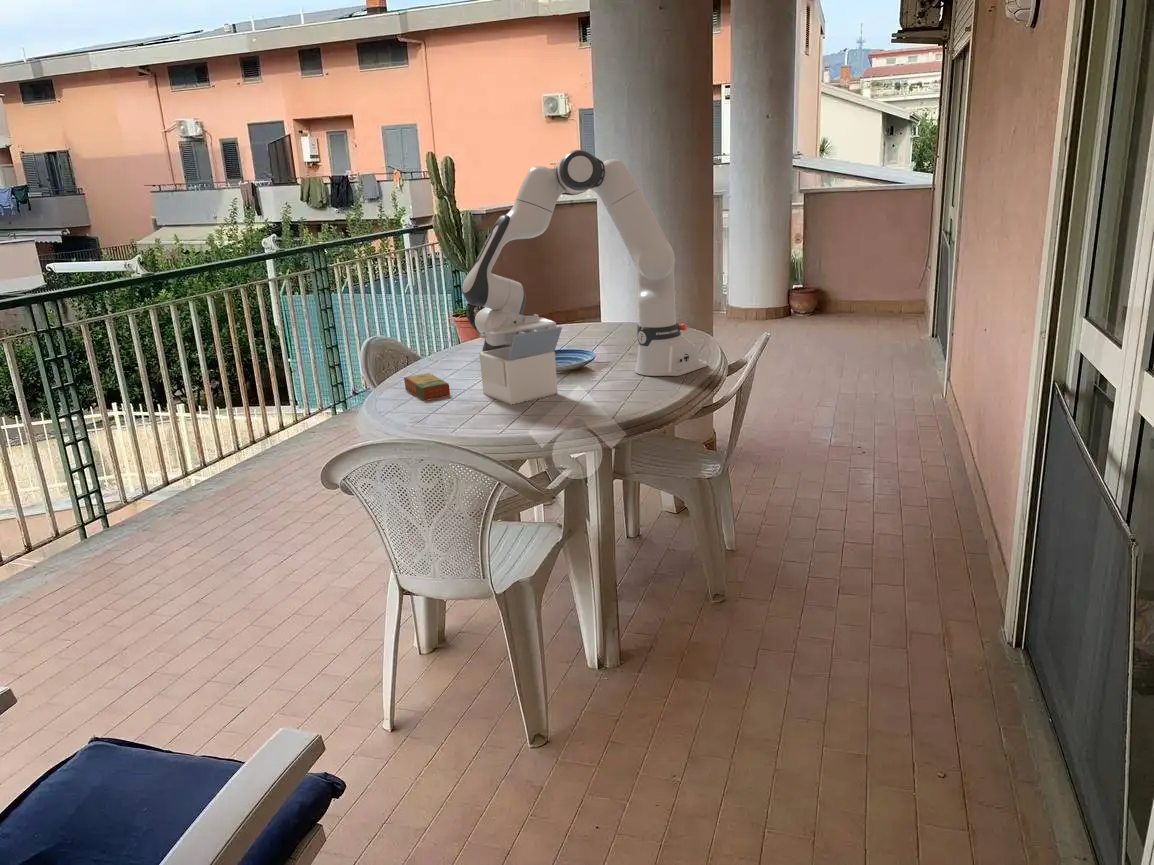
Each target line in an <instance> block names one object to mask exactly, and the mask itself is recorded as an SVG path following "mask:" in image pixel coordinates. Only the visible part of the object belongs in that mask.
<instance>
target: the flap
mask: <svg viewBox="0 0 1154 865" xmlns="http://www.w3.org/2000/svg"><path fill="white" fill-rule="evenodd" d="M562 330H563V327H562V326H557V328H551V329H546V330H540V331H535V332H529V333H524V334H518V335H514V339H513V342H512V346H511V350H510V353H509V357H508V358H509V359H512V358H517V357H522V356H527V355H532V354H537V353H542V352H547V351H556V348H557V345H558V341H559V339H560V336H561V333H562Z"/></svg>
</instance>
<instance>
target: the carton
mask: <svg viewBox="0 0 1154 865" xmlns="http://www.w3.org/2000/svg"><path fill="white" fill-rule="evenodd" d="M403 380H404V387H405V388H404V389H405V390H406V391H407V392H408V393H410V392H411V393H410V394H412V395H413V396H415V397H416V398H418V399H420V400H421V401H423V400H425V401H429V399H430V400H434V399H440V398H445V397H449V396H451V392H450V384H449V382H446V381H445V380H443V379H440V378H439V377H437V376H435V375H433V374H431V373H429V372H427V373H421V374H415V375H409V376H406V377H405V376H404V377H403Z"/></svg>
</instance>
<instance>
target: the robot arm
mask: <svg viewBox="0 0 1154 865" xmlns="http://www.w3.org/2000/svg"><path fill="white" fill-rule="evenodd" d="M588 190H591V191H593V192H594V193H596V194H597V195H598V196H599V198H600V200H601V201H602V204H603V206H604V207H605V209H606V211H607V213H608V215H609V216H610V218H611V220H612V222H613V223H614V226H615V228H616V229H617V231H618V232H619V236H620V237H621V239H622V241H623V243H624V245H625V247H626V249H627V251H628V253H629V255H630V257H631V259H632V261H633V263H634V265H635V266H636V285H637V291H636V292H637V294H636V295H637V314H638V316H637V317H638V318H637V321H638V324H637V326H636V328H637V329H636V330H637V331H636V332H637V333H636V334H637V335H636V336H637V340H638V342H637V343H638V348H637V349H638V350H637V359H636V364H635V369H634V372H635V373H636V374H638V375H641V376H649V377H650V376H651V377H662V376H666V377H667V376H669V377H670V376H671V377H672V376H673V377H678V376H679V377H680V376H682V375H685V374H688V373H691V372H693V371H696V370H700V369H702V368H705V367H707V366H708V362H707V361H705V360H703V359H700V354H699V349H698V347H697V345H696V344H694V343H693V342H692V341H690V340H689V339H688V338H686V337H685V336H683V335H682V332H683V331H684V332H685V331H687V329H688V325H687V324H686V323H677V314H676V309H677V308H676V307H677V306H676V285H675V284H676V283H675V263H676V256H675V253H674V249H673V247H672V245H671V243H669V240H668V239H667V237H666V235H665V233H664V232H663V229H662V227H661V226H660V223H659V222H658V220H657V218H656V215H655V214H654V211H653V210H652V208H651V206H650V204H649V202H648V200H647V199H646V196H645V195H644V193H643V192H642V189H641V187H640V186H639V184H638V181H636V179H635V177H634V175H632V173H631V171H630V170H629V169H628V167H627V165H625V163H624V162H622V161H621V160H620V159H617V158H610V159H607V160H604V161H602V160H601V159H599V158H597V157H596V156H594V155H593V154H591V153H590V152H588V151H586V150H582V149H574V150H570V151H569V152H568V153H566V154H565V155H563V157H561V159H559V162H558V163H557V164H556V165H555V166H554V167H551V168H549V167H546V166H543V165H537V166H536V165H535V166H533V167H530V169H528V170H527V173H526V174H525V176H524V179H523V180H522V182H521V185H520V187H519V189H518V191H517V195H516V198H515V201H514V204H513V205H512V207H511V208H510V210H509V211H508V212H507V213H506V214H504V215H503V214H502V215H500V216H499V218H498V219H496V221H495V222H494V224H493V226H492V228H491V230H490V231H489V233H488V236H487V237H486V239H485V241H484V242H483V245H482V247H481V249H480V250H479V253H478V255H477V257H476V259H475V261H474V262H473V265H472V266H471V268H470V269H469V271H468V272H467V274H466V276H465V277H464V279H463V281H462V284H461V292H462V295H463V297H464V299H465V300H466V301H467V304H468V303H469V304H471V305H476V306H477V307H483V308H482V309H480V310H479V311H478V312H476V315H475V316H474V317H475V325H476V328H477V330H478V331H479V332H480V333H481V334H480V333H479V332H478V333H479V338H481V339H484V341H485V340H486V342H487V343H488V344H490V345H492V346H499V345H505V344H506V345H508V346H512V342H513V339H514V335H518V334H524V333H529V332H535V331H540V330H546V329H551V328H557V327H558V326H557V322H556V321H554V320H552V319H549V318H545V317H539V314H536V313H531V314H530V313H528V314H527V313H526V314H523V313H524V310H525V307H526V305H527V304H526V303H527V296H526V295H527V294H526V290H525V288H524V285H523V284H522V283H521V282H520V281H516V280H514V279H511V278H508V277H505V276H501V275H497V274H495V273H492V270H493V267H494V265H495V264H496V262H497V259H498V258H499V257H500V256H499V255H500V253H501V251H502V249H503V248H504V246H505V245H506V244H508V243H509V242H511V241H513V240H514V241H515V240H526V239H533V238H536V237H538V236H540V235H542V234H544V233H545V231H546V230H547V229H548V227H549V225H550V222H551V220H552V217H553V214H554V211H555V207H556V204H557V202H558V200H559V198H560V197H561V196H562V195H563V196H564V195H566V196H576V195H578V196H579V195H582V194H583V193H586V192H587V191H588ZM681 331H682V332H681Z"/></svg>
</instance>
